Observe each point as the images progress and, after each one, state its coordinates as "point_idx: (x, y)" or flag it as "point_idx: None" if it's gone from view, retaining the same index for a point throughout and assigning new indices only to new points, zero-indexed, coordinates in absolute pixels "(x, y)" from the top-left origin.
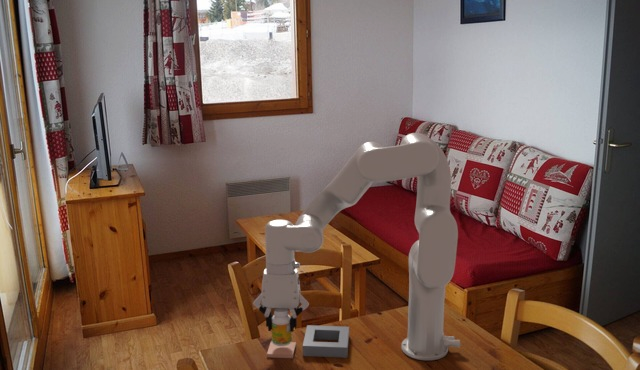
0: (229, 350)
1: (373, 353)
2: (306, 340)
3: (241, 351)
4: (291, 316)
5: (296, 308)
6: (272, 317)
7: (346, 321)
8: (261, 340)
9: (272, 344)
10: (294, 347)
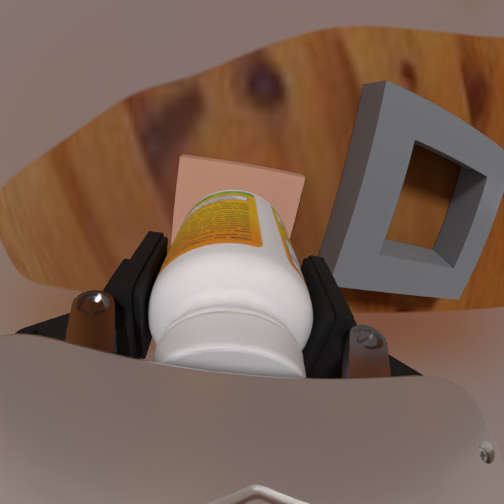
0: (39, 201)
1: (493, 261)
2: (356, 241)
3: (74, 209)
4: (314, 375)
5: (386, 370)
6: (154, 336)
7: (490, 44)
8: (139, 113)
9: (188, 189)
10: (292, 225)
